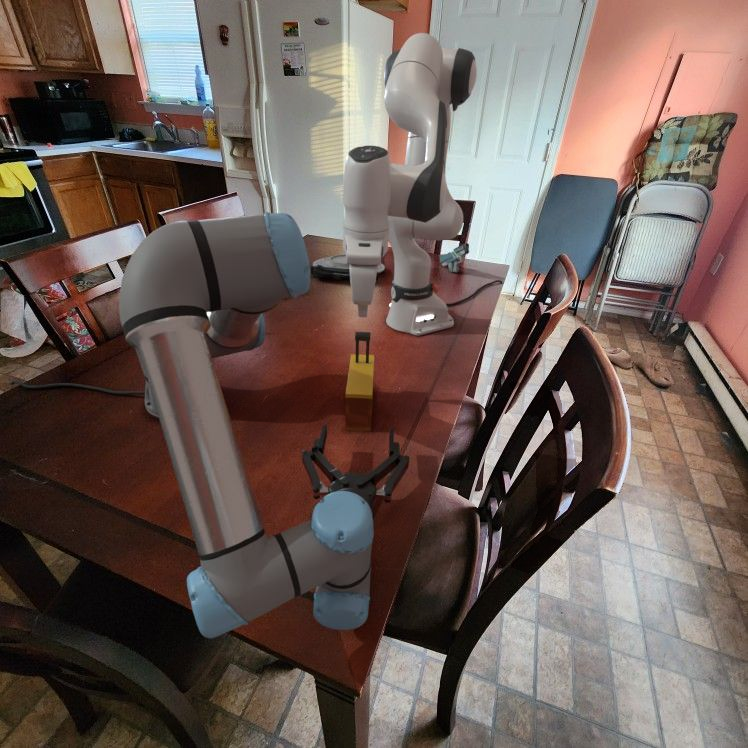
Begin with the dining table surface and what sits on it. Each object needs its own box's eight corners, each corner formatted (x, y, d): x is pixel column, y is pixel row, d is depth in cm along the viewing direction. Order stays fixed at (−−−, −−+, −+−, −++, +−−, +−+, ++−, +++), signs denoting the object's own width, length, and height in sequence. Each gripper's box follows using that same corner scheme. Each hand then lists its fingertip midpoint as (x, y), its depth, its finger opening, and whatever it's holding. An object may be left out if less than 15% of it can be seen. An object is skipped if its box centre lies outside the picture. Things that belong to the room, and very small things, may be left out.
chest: (350, 390, 105) (350, 359, 100) (372, 391, 105) (374, 360, 100) (345, 430, 93) (345, 397, 87) (370, 431, 93) (372, 399, 87)
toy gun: (467, 266, 164) (462, 241, 163) (442, 277, 182) (438, 255, 181) (474, 265, 165) (470, 240, 164) (449, 276, 183) (445, 254, 182)
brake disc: (371, 289, 156) (371, 277, 153) (298, 278, 162) (298, 266, 160) (392, 263, 182) (392, 252, 179) (328, 254, 188) (328, 243, 185)
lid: (351, 357, 100) (351, 324, 95) (374, 358, 100) (375, 325, 95) (345, 397, 87) (345, 361, 82) (372, 398, 87) (373, 363, 82)
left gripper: (275, 530, 69) (298, 441, 86) (423, 538, 69) (417, 447, 86) (270, 501, 65) (296, 414, 82) (429, 510, 65) (421, 420, 82)
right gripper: (353, 225, 89) (352, 285, 97) (345, 258, 72) (345, 327, 80) (382, 227, 89) (379, 287, 97) (381, 259, 72) (377, 329, 80)
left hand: (358, 431), depth 84 cm, fingers open, 13 cm apart
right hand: (364, 305), depth 89 cm, fingers open, 8 cm apart
